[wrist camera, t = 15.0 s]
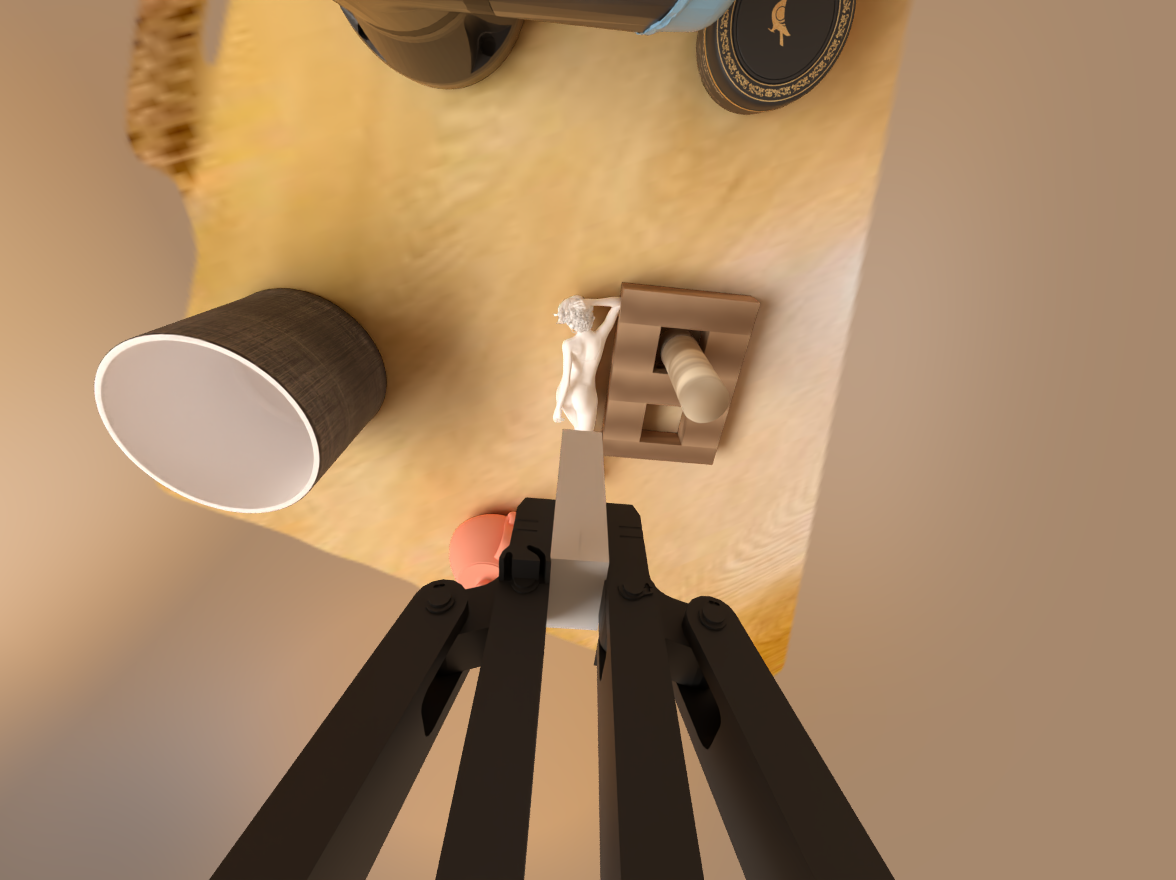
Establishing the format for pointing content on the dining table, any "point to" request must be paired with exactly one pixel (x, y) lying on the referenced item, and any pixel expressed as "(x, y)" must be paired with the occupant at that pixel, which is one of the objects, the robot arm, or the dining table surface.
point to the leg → (692, 376)
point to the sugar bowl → (479, 548)
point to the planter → (243, 398)
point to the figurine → (582, 359)
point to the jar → (771, 51)
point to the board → (649, 383)
